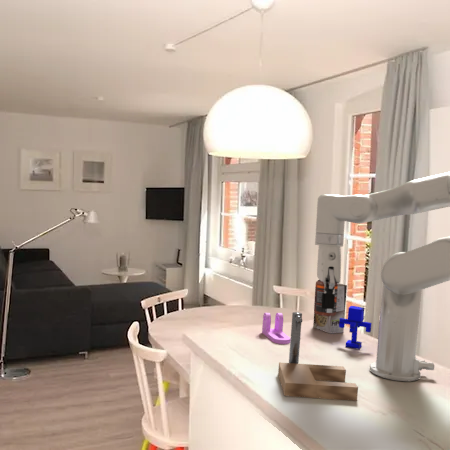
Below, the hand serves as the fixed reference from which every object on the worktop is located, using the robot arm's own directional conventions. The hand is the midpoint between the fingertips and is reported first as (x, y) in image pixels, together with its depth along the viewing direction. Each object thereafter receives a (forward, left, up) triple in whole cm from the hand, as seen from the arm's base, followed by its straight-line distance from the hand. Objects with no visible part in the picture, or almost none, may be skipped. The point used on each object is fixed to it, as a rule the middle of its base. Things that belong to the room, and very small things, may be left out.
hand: (325, 305), depth 140 cm
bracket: (+10, -20, -16) cm, 27 cm away
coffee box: (-9, -35, -15) cm, 39 cm away
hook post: (+9, +12, -15) cm, 22 cm away
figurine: (-13, -16, -15) cm, 26 cm away
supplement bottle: (0, 0, -3) cm, 3 cm away
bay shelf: (+5, +21, -15) cm, 26 cm away
